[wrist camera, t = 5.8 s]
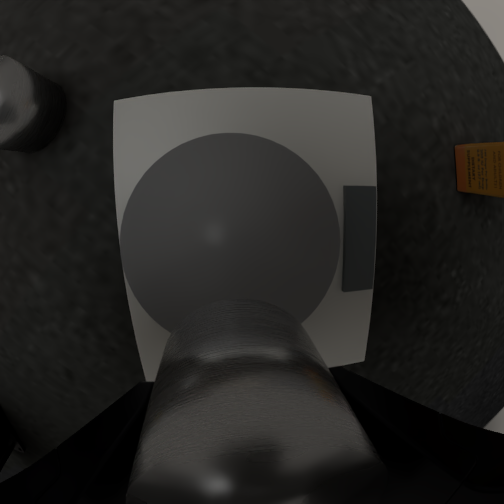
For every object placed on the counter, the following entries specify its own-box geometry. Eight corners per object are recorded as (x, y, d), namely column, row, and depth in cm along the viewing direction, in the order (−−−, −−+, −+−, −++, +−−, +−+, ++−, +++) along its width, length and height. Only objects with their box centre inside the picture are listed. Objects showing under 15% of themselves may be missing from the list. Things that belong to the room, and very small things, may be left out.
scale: (351, 344, 17) (368, 366, 15) (153, 361, 16) (144, 387, 14) (354, 105, 14) (376, 93, 12) (126, 110, 13) (109, 97, 10)
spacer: (316, 291, 8) (422, 413, 3) (308, 412, 9) (358, 533, 4) (151, 303, 7) (81, 446, 3) (176, 422, 8) (163, 553, 4)
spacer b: (64, 144, 13) (11, 133, 8) (9, 159, 13) (-45, 157, 8) (69, 73, 12) (24, 42, 7) (14, 92, 12) (-35, 74, 7)
